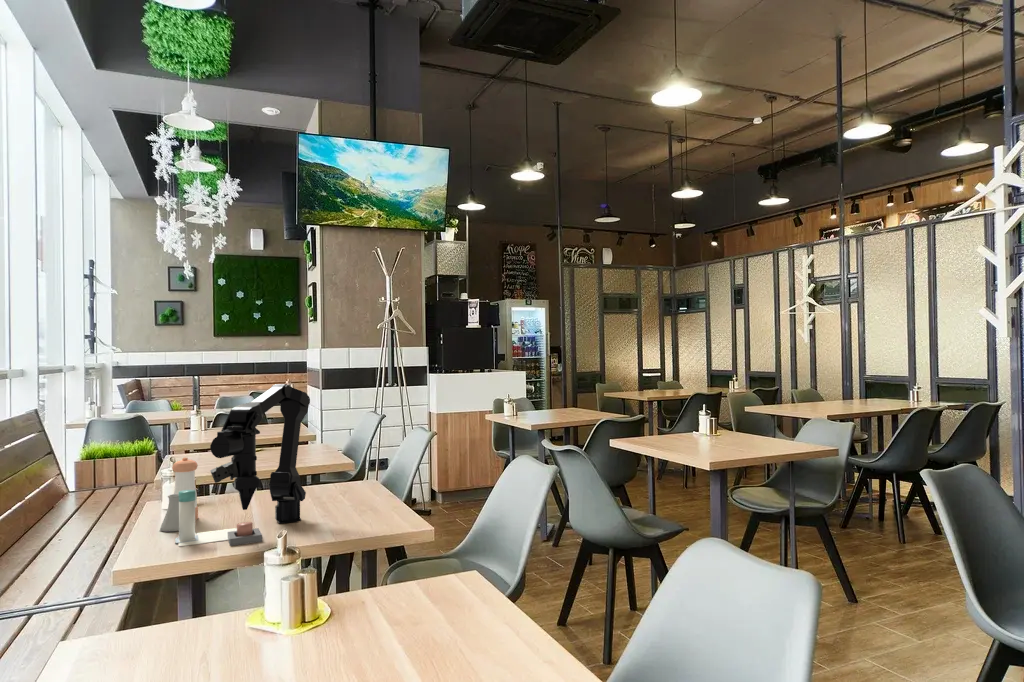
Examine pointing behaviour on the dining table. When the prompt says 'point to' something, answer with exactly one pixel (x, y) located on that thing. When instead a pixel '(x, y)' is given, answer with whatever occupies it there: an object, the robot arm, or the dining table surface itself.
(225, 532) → the paper
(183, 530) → the marker
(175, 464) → the pepper shaker
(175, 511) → the flask
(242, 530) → the button
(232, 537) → the button collar
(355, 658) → the dining table surface
